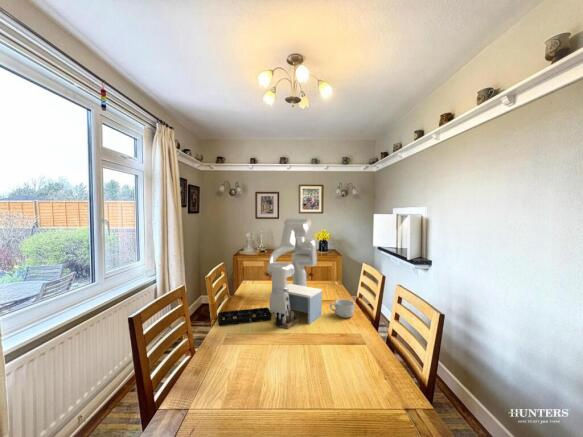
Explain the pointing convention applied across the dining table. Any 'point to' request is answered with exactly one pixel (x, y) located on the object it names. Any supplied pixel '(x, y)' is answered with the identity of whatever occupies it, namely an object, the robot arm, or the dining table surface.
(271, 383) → the dining table surface
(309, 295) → the white step stool
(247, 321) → the egg carton
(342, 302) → the teacup
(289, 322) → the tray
